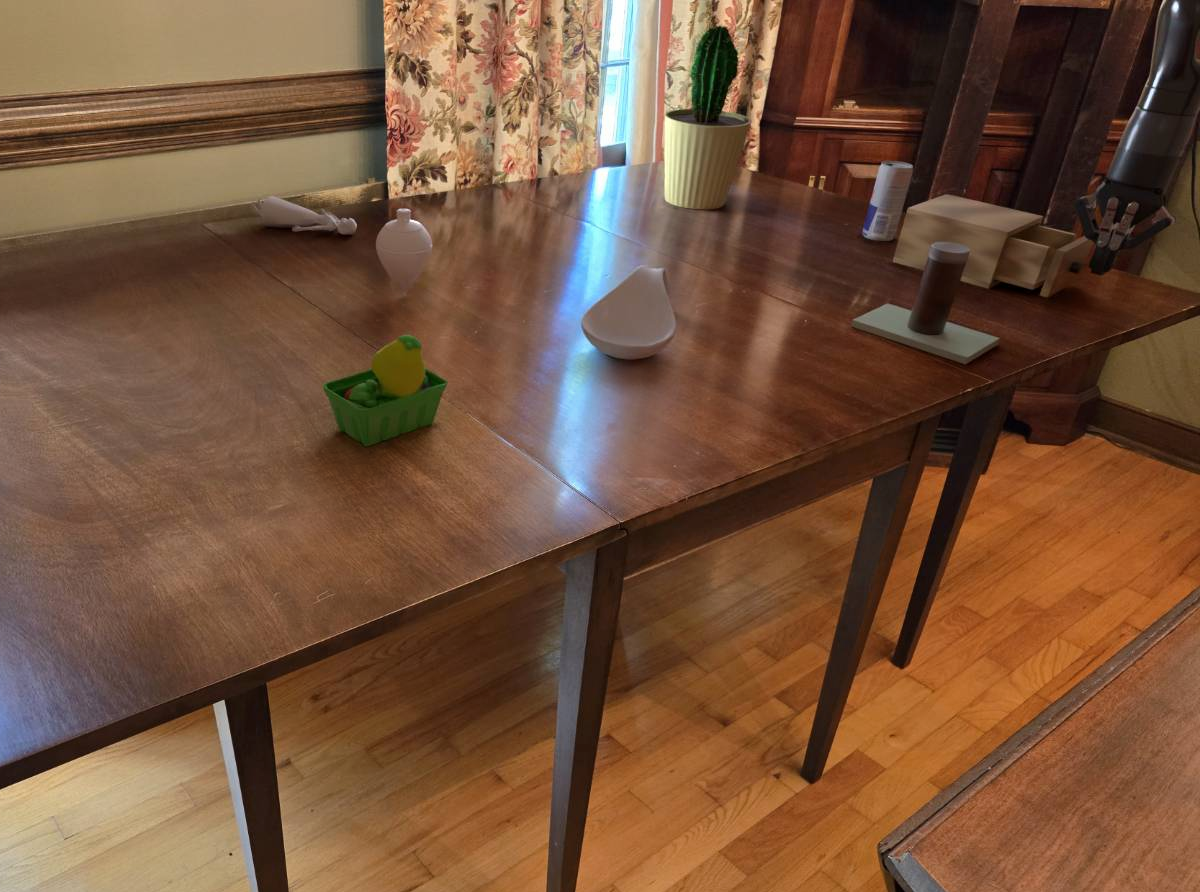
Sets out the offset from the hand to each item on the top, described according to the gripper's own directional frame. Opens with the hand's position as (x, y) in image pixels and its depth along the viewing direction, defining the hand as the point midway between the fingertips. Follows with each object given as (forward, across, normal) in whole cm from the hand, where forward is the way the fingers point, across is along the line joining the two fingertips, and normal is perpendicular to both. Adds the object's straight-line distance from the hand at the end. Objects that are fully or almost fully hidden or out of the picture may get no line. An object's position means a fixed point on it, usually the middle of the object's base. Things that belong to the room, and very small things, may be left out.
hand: (1098, 273), depth 138 cm
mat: (+5, -10, -30) cm, 32 cm away
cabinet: (+5, -20, +3) cm, 21 cm away
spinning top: (+6, -64, -76) cm, 100 cm away
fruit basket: (+6, -36, -102) cm, 108 cm away
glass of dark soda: (+4, -10, -30) cm, 32 cm away
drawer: (+4, -11, +3) cm, 12 cm away
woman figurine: (+6, -98, -69) cm, 120 cm away
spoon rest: (+6, -36, -61) cm, 71 cm away
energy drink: (+6, -36, +7) cm, 37 cm away
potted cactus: (+6, -69, -1) cm, 70 cm away
